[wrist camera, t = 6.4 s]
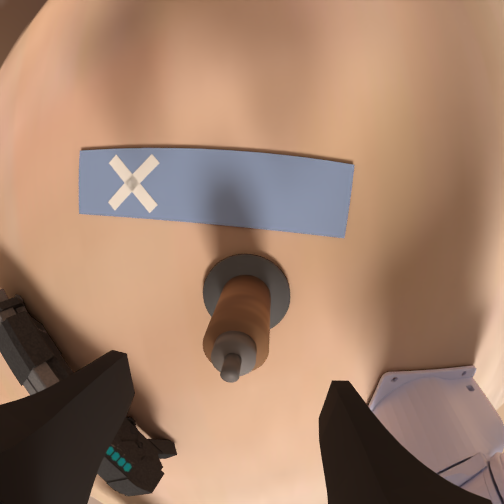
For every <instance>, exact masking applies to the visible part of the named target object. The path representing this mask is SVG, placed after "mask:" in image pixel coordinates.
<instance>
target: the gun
mask: <svg viewBox="0 0 504 504" xmlns="http://www.w3.org/2000/svg"><path fill="white" fill-rule="evenodd" d="M24 306H25V305H24V303H23V299H22V298H21V296H19V295H17V294H16V295H15V297H14V298H11V299H8V297H7V295H6V293H5V291H4V289H0V352H1V354H2V356H3V357H4V359H5V361H6V362H7V364H8V366H9V367H10V369H11V371H12V372H13V374H14V375H15V377H16V378H17V380H18V381H19V383H20V384H21V386H22V385H24V387H25V388H26V390H27V391H28V393H29V394H30V395H32V394H35V393H37V392H39V391H42V390H44V389H46V388H48V387H50V386H52V385H54V384H55V383H57V382H59V381H61V380H63V379H65V378H67V377H68V376H70V375H72V374H74V373H73V371H72V370H71V369H70V367H69V366H68V365H67V363H66V362H65V361H64V359H63V358H62V356H61V353H60V351H59V350H58V348H57V347H56V345H55V344H54V342H53V341H52V339H51V338H50V336H49V335H48V333H47V332H46V330H45V329H44V327H43V325H42V324H41V323H39V322H38V321H37V320H35V319H34V318H33V317H31V316H30V315H29V313H28V312H27V310H26V308H25V307H24ZM135 425H136V424H135V421H134V420H133V419H132V418H129V417H128V418H127V417H125V419H124V421H123V423H122V425H121V426H120V428H119V430H118V432H117V434H116V436H115V437H114V439H113V441H112V443H111V445H110V447H109V448H108V450H107V452H106V454H105V456H104V458H103V460H102V462H101V464H100V467H99V469H98V472H97V474H98V475H99V476H100V477H101V478H103V479H104V480H105V481H106V482H107V484H108V485H109V486H110V487H111V488H113V489H114V490H115V491H118V492H119V493H122V494H124V495H125V496H126V495H127V496H135V495H143V494H150V493H152V492H153V491H154V489H155V488H156V486H157V484H158V483H159V481H160V480H161V478H162V477H163V475H164V472H162V471H161V469H162V468H163V466H162V464H161V462H160V459H162V458H163V459H166V458H169V457H172V456H175V455H177V452H176V448H175V444H174V443H173V442H172V441H170V440H160V439H158V440H157V439H146V438H145V437H144V436H143V435H142V434H141V433H140V432H139V431H138V429H137V428H136V426H135Z"/></svg>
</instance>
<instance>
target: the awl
mask: <svg viewBox="0 0 504 504" xmlns="http://www.w3.org/2000/svg"><path fill="white" fill-rule="evenodd" d="M270 306H271V294H270V291H269V288H268V287H267V285H266V284H265V283H264V282H263V281H262V280H261V279H259V278H257V277H255V276H252V275H239V276H236V277H233V278H232V279H230V280H229V281H228V282H227V283H226V284H225V286H224V288H223V290H222V293H221V295H220V298H219V300H218V303H217V305H216V308H215V310H214V313H213V315H212V318H211V320H210V323H209V325H208V328H207V331H206V333H205V336H204V339H203V349H204V352H205V355H206V356H207V358H208V359H209V361H210V362H211V363H212V364H213V366H214V367H215V368H216V369H217V370H218V371H220V372H221V373H220V376H221V378H222V379H223V380H224V381H226V382H235V381H237V380H238V379H239V376H242V375H245V374H248V373H249V372H250V371H253V370H255V369H257V368H258V367H260V366H261V365H262V364H263V363H264V362H265V360H266V359H267V356H268V353H269V334H270Z"/></svg>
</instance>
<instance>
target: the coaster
mask: <svg viewBox="0 0 504 504" xmlns="http://www.w3.org/2000/svg"><path fill="white" fill-rule="evenodd" d="M239 275H252V276H255V277H257V278H259V279H261V280H262V281H263V282H264V283H265V284H266V285H267V287H268V288H269V291H270V294H271V306H270V329H271V328H273V327H274V326H275V325H277V324H278V323H279V322H280V321H281V320H282V319H283V317H284V316H285V314H286V312H287V310H288V307H289V303H290V289H289V284H288V282H287V279H286V277H285V275H284V274H283V272H282V271H281V270H280V269H279V268H278V267H277V266H276V265H275V264H274V263H272V262H271V261H269V260H268V259H265V258H263V257H260V256H257V255H252V254H238V255H234V256H230V257H228V258H226V259H224V260H222V261H220V262H219V263H218V264H217V265H215V266H214V267H213V269H212V270H211V271H210V273H209V275H208V276H207V278H206V281H205V284H204V288H203V298H204V303H205V306H206V309H207V311H208V312H209V314H210V315H211V317H212V315H213V313H214V310H215V308H216V305H217V303H218V300H219V298H220V295H221V293H222V290H223V288H224V286H225V284H226V283H227V282H228V281H229V280H230V279H232V278H233V277H236V276H239Z"/></svg>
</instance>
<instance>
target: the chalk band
mask: <svg viewBox="0 0 504 504" xmlns="http://www.w3.org/2000/svg"><path fill="white" fill-rule="evenodd" d="M353 173H354V165H353V164H347V163H340V162H334V161H327V160H320V159H313V158H305V157H297V156H289V155H280V154H270V153H259V152H247V151H233V150H216V149H191V148H124V149H100V150H84V151H80V159H79V214H89V215H104V216H118V217H132V218H145V219H157V220H169V221H181V222H193V223H204V224H215V225H225V226H236V227H246V228H256V229H266V230H275V231H285V232H294V233H303V234H312V235H321V236H329V237H338V238H344V237H345V231H346V225H347V218H348V212H349V205H350V197H351V190H352V181H353Z"/></svg>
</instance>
